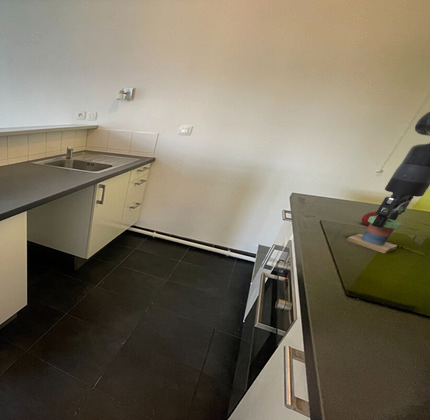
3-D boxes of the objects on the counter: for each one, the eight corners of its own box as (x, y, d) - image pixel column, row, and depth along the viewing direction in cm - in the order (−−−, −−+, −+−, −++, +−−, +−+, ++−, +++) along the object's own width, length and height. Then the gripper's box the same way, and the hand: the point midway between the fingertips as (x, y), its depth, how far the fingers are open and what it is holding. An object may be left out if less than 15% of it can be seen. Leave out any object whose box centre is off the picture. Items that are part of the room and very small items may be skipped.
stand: (357, 237, 91) (372, 212, 87) (395, 249, 83) (413, 223, 80) (346, 240, 88) (360, 215, 84) (384, 253, 80) (402, 226, 76)
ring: (372, 219, 86) (375, 215, 86) (402, 227, 81) (405, 223, 80) (364, 221, 84) (366, 217, 83) (394, 230, 78) (397, 225, 78)
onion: (366, 230, 98) (377, 211, 95) (353, 224, 103) (363, 206, 100) (384, 232, 96) (395, 213, 93) (370, 226, 102) (381, 208, 99)
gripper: (423, 183, 71) (390, 233, 77) (439, 181, 76) (407, 227, 82) (383, 176, 77) (356, 223, 83) (401, 175, 82) (374, 218, 88)
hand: (381, 225), depth 83 cm, fingers open, 8 cm apart
